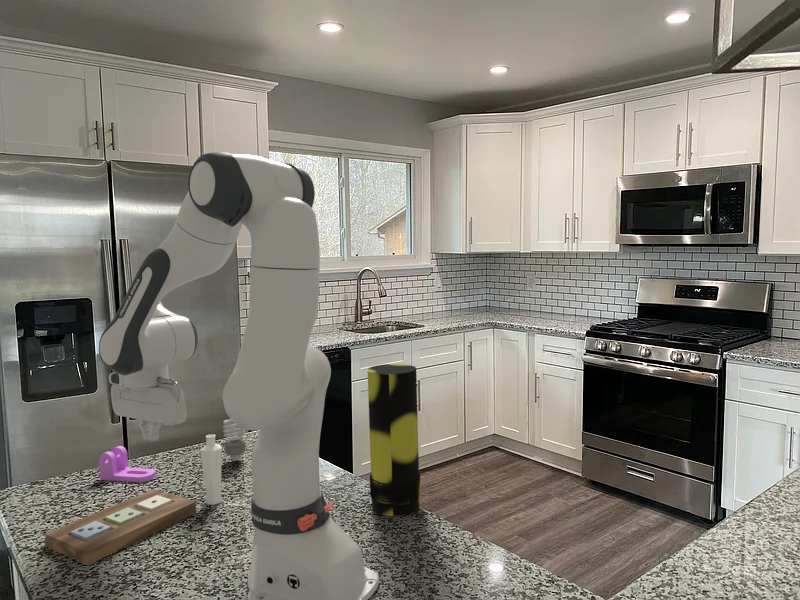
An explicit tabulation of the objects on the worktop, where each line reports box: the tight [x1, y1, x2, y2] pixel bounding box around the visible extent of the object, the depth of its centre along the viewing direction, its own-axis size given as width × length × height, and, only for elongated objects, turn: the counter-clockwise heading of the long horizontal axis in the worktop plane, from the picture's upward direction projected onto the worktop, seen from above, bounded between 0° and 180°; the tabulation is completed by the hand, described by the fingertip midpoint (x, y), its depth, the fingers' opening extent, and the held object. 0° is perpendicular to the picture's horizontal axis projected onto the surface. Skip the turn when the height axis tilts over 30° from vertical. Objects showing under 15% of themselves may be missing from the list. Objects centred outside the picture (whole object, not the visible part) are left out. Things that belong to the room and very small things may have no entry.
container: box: [367, 363, 422, 517], centre depth 127 cm, size 11×11×30 cm
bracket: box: [98, 445, 157, 483], centre depth 149 cm, size 13×6×7 cm, turn 77°
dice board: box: [44, 488, 197, 566], centre depth 121 cm, size 14×24×2 cm, turn 148°
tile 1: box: [137, 495, 172, 512], centre depth 127 cm, size 5×5×3 cm
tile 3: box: [71, 521, 111, 542], centre depth 115 cm, size 5×5×3 cm
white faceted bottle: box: [199, 434, 224, 506], centre depth 133 cm, size 5×4×15 cm
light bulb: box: [222, 419, 246, 462], centre depth 158 cm, size 6×6×12 cm
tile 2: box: [105, 508, 143, 526], centre depth 121 cm, size 5×5×3 cm
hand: (151, 439), depth 127 cm, fingers closed
